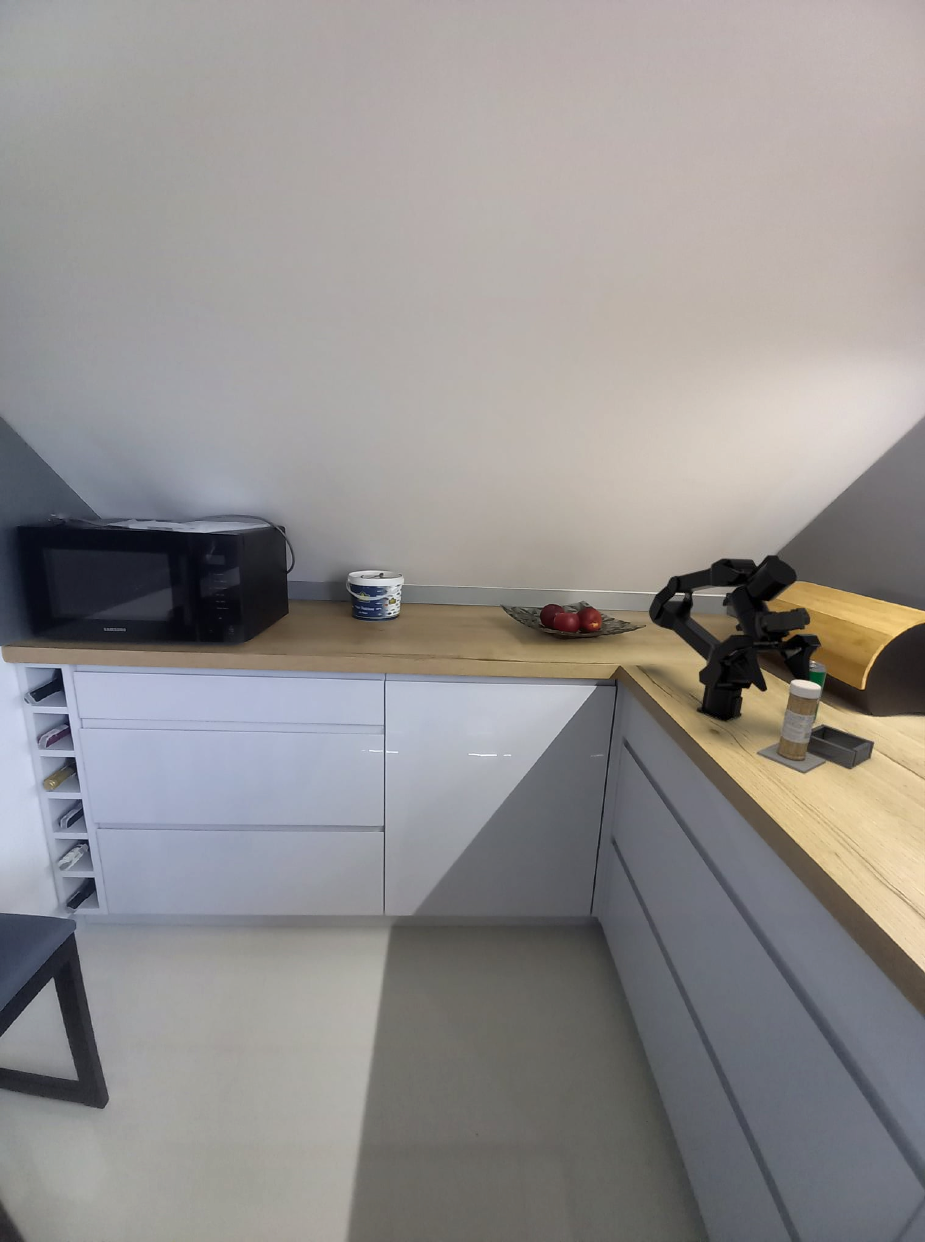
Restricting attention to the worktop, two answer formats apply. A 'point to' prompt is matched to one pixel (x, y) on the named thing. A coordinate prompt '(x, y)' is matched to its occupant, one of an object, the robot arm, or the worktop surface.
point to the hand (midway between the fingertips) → (786, 689)
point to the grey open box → (839, 746)
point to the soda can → (817, 678)
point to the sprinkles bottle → (798, 719)
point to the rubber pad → (798, 765)
